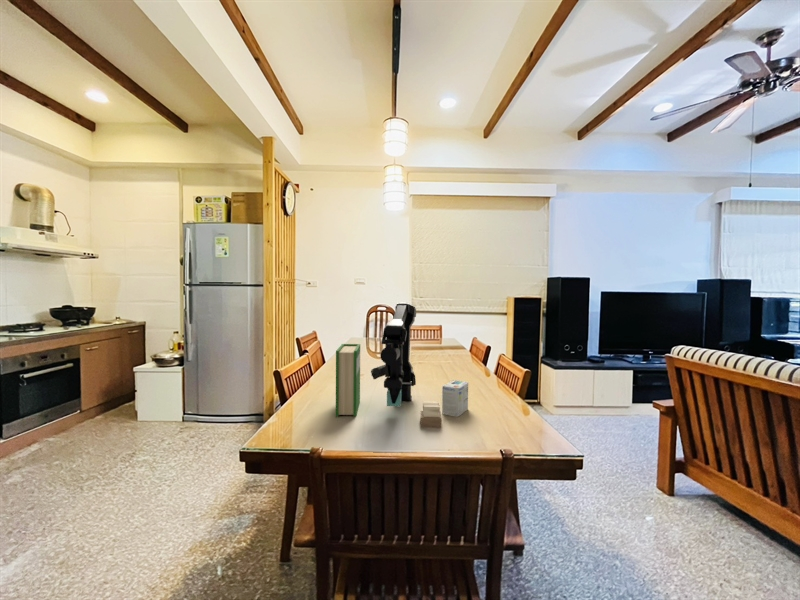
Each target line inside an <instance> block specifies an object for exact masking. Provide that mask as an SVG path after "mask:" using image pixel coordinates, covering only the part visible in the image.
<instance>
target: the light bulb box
mask: <svg viewBox="0 0 800 600" xmlns="http://www.w3.org/2000/svg"><path fill="white" fill-rule="evenodd" d="M441 393H442V395H441V397H442V402H441V404H442V406H441V408H442V410H441V415H446V416H450V417H456V418H458V417H459V416H461V415H462V414H464V413H465V412H466V411H468V410H467V409H469V381H462V380H454V379H453V380H451V381H449V382H448V383H445V384H444V385H442V392H441Z"/></svg>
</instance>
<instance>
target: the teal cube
mask: <svg viewBox="0 0 800 600" xmlns="http://www.w3.org/2000/svg"><path fill="white" fill-rule="evenodd" d="M401 406H402V401H401V390H400V393H399V395H398V398H397V400H396V403H395V404H393V403H392V400H391V395H390V391H389V389H387V391H386V407H401Z"/></svg>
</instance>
